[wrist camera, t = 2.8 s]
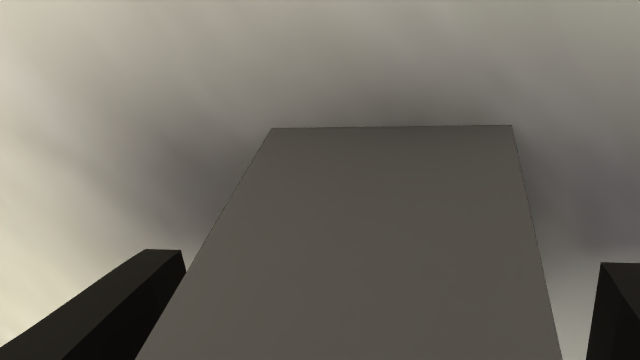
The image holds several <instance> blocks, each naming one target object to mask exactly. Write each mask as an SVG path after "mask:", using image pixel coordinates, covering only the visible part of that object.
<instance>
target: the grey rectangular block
mask: <svg viewBox="0 0 640 360" xmlns="http://www.w3.org/2000/svg"><path fill="white" fill-rule="evenodd" d="M135 360H562V355H561V350H560V346H559V341H558V337H557V332H556V327H555V323H554V318H553V314H552V309H551V304H550V300H549V295H548V291H547V286H546V282H545V277H544V272H543V268H542V263H541V259H540V254H539V249H538V245H537V240H536V236H535V231H534V226H533V222H532V217H531V213H530V208H529V204H528V199H527V194H526V190H525V185H524V181H523V176H522V171H521V167H520V162H519V158H518V153H517V148H516V144H515V139H514V135H513V130H512V125H473V126H400V127H327V128H272V129H271V130H270V132H269V134H268V135H267V137H266V139H265V140H264V142H263V144H262V145H261V147H260V149H259V151H258V152H257V154H256V156H255V157H254V159H253V161H252V162H251V164H250V166H249V167H248V169H247V171H246V173H245V174H244V176H243V178H242V179H241V181H240V183H239V184H238V186H237V188H236V189H235V191H234V193H233V195H232V196H231V198H230V200H229V201H228V203H227V205H226V206H225V208H224V210H223V211H222V213H221V215H220V216H219V218H218V220H217V222H216V223H215V225H214V227H213V228H212V230H211V232H210V233H209V235H208V237H207V238H206V240H205V242H204V244H203V245H202V247H201V249H200V250H199V252H198V254H197V255H196V257H195V259H194V260H193V262H192V264H191V266H190V267H189V269H188V271H187V272H186V274H185V276H184V277H183V279H182V281H181V282H180V284H179V286H178V288H177V289H176V291H175V293H174V294H173V296H172V298H171V299H170V301H169V303H168V304H167V306H166V308H165V310H164V311H163V313H162V315H161V316H160V318H159V320H158V321H157V323H156V325H155V326H154V328H153V330H152V332H151V333H150V335H149V337H148V338H147V340H146V342H145V343H144V345H143V347H142V348H141V350H140V352H139V354H138V355H137V357H136V359H135Z"/></svg>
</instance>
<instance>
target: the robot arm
mask: <svg viewBox="0 0 640 360" xmlns="http://www.w3.org/2000/svg"><path fill="white" fill-rule="evenodd" d="M185 274H186V269H185V265H184V261H183V257H182V253H181V250H157V249H145V250H143V251H142V252H140V253H138V254H137V255H135V256H133V257H132V258H130V259H129V260H127V261H126V262H124V263H123V264H121V265H120V266H118V267H117V268H115V269H114V270H112V271H111V272H109V273H108V274H107V275H105V276H104V277H102V278H101V279H99V280H98V281H97V282H95V283H94V284H92V285H91V286H89V287H88V288H87V289H85V290H84V291H82V292H81V293H80V294H78V295H77V296H75V297H74V298H72V299H71V300H70V301H68V302H67V303H65V304H64V305H62V306H61V307H60V308H58V309H57V310H55V311H54V312H52V313H51V314H50V315H48V316H47V317H45V318H44V319H42V320H41V321H39V322H38V323H37V324H35V325H34V326H32V327H31V328H29V329H28V330H26V331H25V332H23V333H22V334H20V335H19V336H17V337H16V338H14V339H13V340H11V341H10V342H8V343H7V344H5V345H3V346H2V347H0V360H135V359H136V357H137V355H138V354H139V352H140V350H141V348H142V347H143V345H144V343H145V342H146V340H147V338H148V337H149V335H150V333H151V332H152V330H153V328H154V326H155V325H156V323H157V321H158V320H159V318H160V316H161V315H162V313H163V311H164V310H165V308H166V306H167V304H168V303H169V301H170V299H171V298H172V296H173V294H174V293H175V291H176V289H177V288H178V286H179V284H180V282H181V281H182V279H183V277H184V276H185ZM586 360H640V263H609V262H601V265H600V272H599V278H598V285H597V291H596V298H595V304H594V311H593V317H592V324H591V330H590V337H589V343H588V350H587V356H586Z"/></svg>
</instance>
